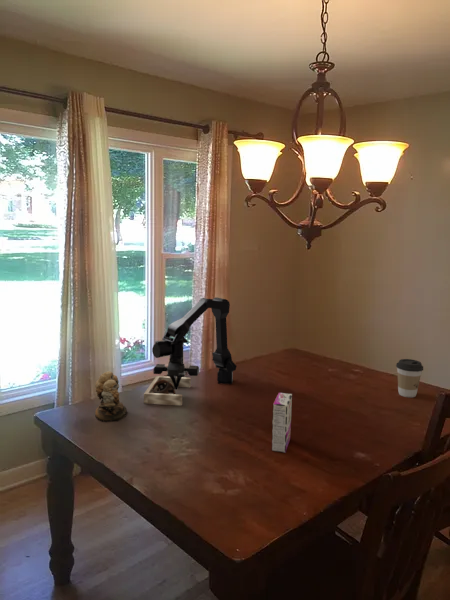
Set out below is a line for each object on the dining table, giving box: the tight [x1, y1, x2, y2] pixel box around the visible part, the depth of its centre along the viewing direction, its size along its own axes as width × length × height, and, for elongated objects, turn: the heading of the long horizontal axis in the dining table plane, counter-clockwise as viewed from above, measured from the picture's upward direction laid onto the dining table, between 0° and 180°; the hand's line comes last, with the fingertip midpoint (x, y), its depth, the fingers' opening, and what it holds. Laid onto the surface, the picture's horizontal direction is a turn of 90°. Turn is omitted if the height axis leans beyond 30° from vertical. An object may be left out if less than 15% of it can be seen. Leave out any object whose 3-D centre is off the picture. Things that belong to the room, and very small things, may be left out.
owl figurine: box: [94, 371, 128, 423], centre depth 185 cm, size 18×12×17 cm, turn 15°
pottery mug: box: [152, 379, 176, 394], centre depth 206 cm, size 12×10×8 cm
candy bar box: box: [271, 392, 293, 454], centre depth 163 cm, size 11×5×16 cm, turn 164°
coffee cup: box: [395, 358, 424, 398], centre depth 214 cm, size 11×11×15 cm
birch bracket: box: [143, 375, 192, 406], centre depth 208 cm, size 16×23×4 cm
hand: (176, 389), depth 208 cm, fingers closed
